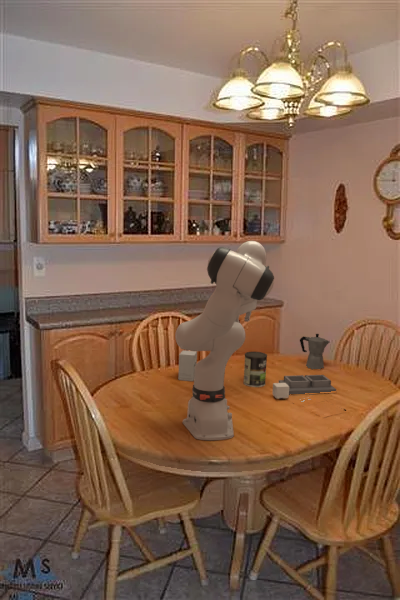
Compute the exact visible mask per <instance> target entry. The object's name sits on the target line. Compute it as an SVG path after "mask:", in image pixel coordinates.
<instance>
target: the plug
mask: <svg viewBox="0 0 400 600" xmlns="http://www.w3.org/2000/svg"><path fill="white" fill-rule="evenodd" d="M271 395H272V396H273V397H274V398H275V399H276V400H277V399H279V400H280V399H283V400H284V399H285V400H287V399H289V396H290V395H289V386H288V385H287V384H286V383H279V382H272V394H271Z"/></svg>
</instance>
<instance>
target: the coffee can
mask: <svg viewBox="0 0 400 600" xmlns="http://www.w3.org/2000/svg"><path fill="white" fill-rule="evenodd" d="M267 360H268V354H267V353H265V352H261V351H248V352H247V351H246V352H245V353H244V364H243V366H244V370H243V385H244V386H247V387H250V388H263V387H264V386H266V379H267Z"/></svg>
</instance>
